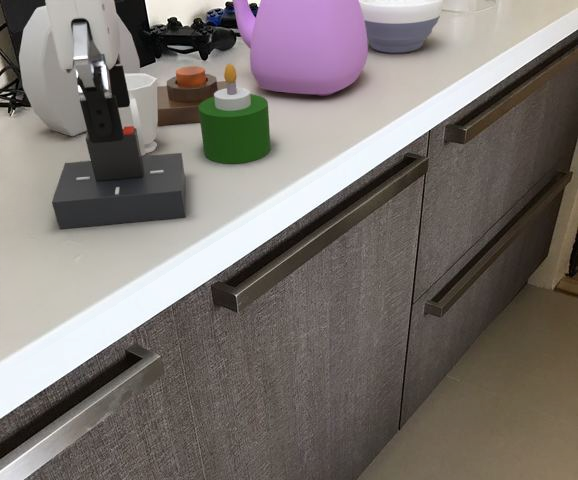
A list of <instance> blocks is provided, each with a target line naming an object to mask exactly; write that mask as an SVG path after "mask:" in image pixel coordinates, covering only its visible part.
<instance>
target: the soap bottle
mask: <svg viewBox="0 0 578 480" xmlns="http://www.w3.org/2000/svg"><path fill="white" fill-rule="evenodd" d="M117 20H118V27H119V34H120V50H119V56H120V62H121V64H120V65H116V66H121V65H123V69H124V74H131V73H141V65H140V64H141V63H140V57H139V55H138V51H137V48H136V45H135V41H134V40H133V36H132V33H131V32H130V31H129V30H128V28H127V26H126V25H125V23H124V22H123V21H122V19H121V17H120V16H119V14H117ZM18 62H19V68H20V76H21V77H20V78H21V83H22V89H23V91H24V93H25V95H26V98H27V100H28V102H29V104H30V106H31V108H32V111H33V113H34V114H35V115H36V116H37V117H38V118H39V120H41V121H42V122H43V123H44V124H45V126H46V127H47V128H48V129H49V130H50V131H54V132H57V133H60V134H64V135H66V136H70V137H75V136H78V135H81V134H83V133H87V128H86V124H85V120H84V116H83V112H82V108H81V104H80V97H79V92H78V84H77V76H76V68H75V65H74V67H73V69H72V70H71V72H70V73H65V72H64V71H62V70H61V68H60V65H59V61H58V56H57V52H56V47H55V43H54V38H53V34H52V30H51V25H50V21H49V16H48V12H47V7H46V5H43V6H38V7H36V9H35V10H34V11H33V13H32V15H31V16H30V18H29V20H28V21H27V23H26V24H25V26H24V27H23V31H22V37H21V43H20V49H19V54H18Z"/></svg>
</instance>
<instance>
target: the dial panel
mask: <svg viewBox="0 0 578 480" xmlns="http://www.w3.org/2000/svg"><path fill="white" fill-rule="evenodd" d="M142 161H143V167H144V173H143V177H136V178H125V179H114V180H103V181H96V180H95V176H94V172H93V168H92V164H91V160H86V161H85V160H84V161H73V162H65V163H64V164H63V167H62V171H61V174H60V177H59V180H58V183H57V186H56V189H55V191H54V194H53V197H52V201H51V205H52V208H53V211H54V215H55V218H56V222H57V225H58V228H59V230H63V229H65V230H66V229H74V228H75V229H76V228H85V227H96V226H107V225H116V224H117V225H119V224H127V223H128V224H129V223H138V222H140V223H141V222H150V221H159V220H171V219H182V218H183V219H184V218H186V173H185V168H184V160H183V153H182V152H175V153H163V154H154V155H153V154H152V155H145V156H142Z"/></svg>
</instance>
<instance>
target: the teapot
mask: <svg viewBox="0 0 578 480" xmlns="http://www.w3.org/2000/svg"><path fill="white" fill-rule="evenodd" d="M231 1H232V4H233V9H234V15H235V20H236V25H237V29H238V32H239V35H240V37H241V39H242V41H243V43H244V44H245V45H246V46H247V47H248V49H250V50H249V51H250V52H249V53H250V54H249V55H250V56H249V64H250V71H251V74H252V76H253V78H254V80H255V81H256V83H257V84H258V86H259V87H260V88H261V89H263V90H267V91H272V92H276V93H288V94H301V95H316V96H319V97H327V96H331V95H333V94H334V93H336V92H339V91H341V90H343V89H346V88H347V87H349V86H350V85H352V84H353V83H355V82H356V81H357V80H358V78H359V76H360V75H361V73H362V72H363V69H364V68H365V65H366V63H367V60H368V56H369V55H368V54H369V53H368V52H369V50H368V49H369V48H368V47H369V45H368V39H367V33H366V26H365V21H364V17H363V13H362V9H361V6H360V3H359V0H260V2H259V5H258V8H257V12H256V16H255V15H254V13H253V12H252V10H251V7H250V4H249V1H248V0H231Z"/></svg>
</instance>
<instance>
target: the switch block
mask: <svg viewBox="0 0 578 480" xmlns="http://www.w3.org/2000/svg"><path fill="white" fill-rule="evenodd" d="M205 75H206V83H204V84H201V85H197V86H179V85H177V78H176V76H173V77H171V78H169V79H168V80H166V85H161V86H160V85H157V108H158V123H157V127H159V126H160V127H161V126H172V125H181V124H184V125H185V124H195V123H200V116H199V108H198V107H199V104H200V103H201V102H203V101H204V100H206V99H209V98H211V97H214V93H215V92H217V91H219V90H221V89H225V88H227V84H226V81H225V80H222V81H221V80H220V81H218V79H217V76H215V75H212V74H209V73H205Z"/></svg>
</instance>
